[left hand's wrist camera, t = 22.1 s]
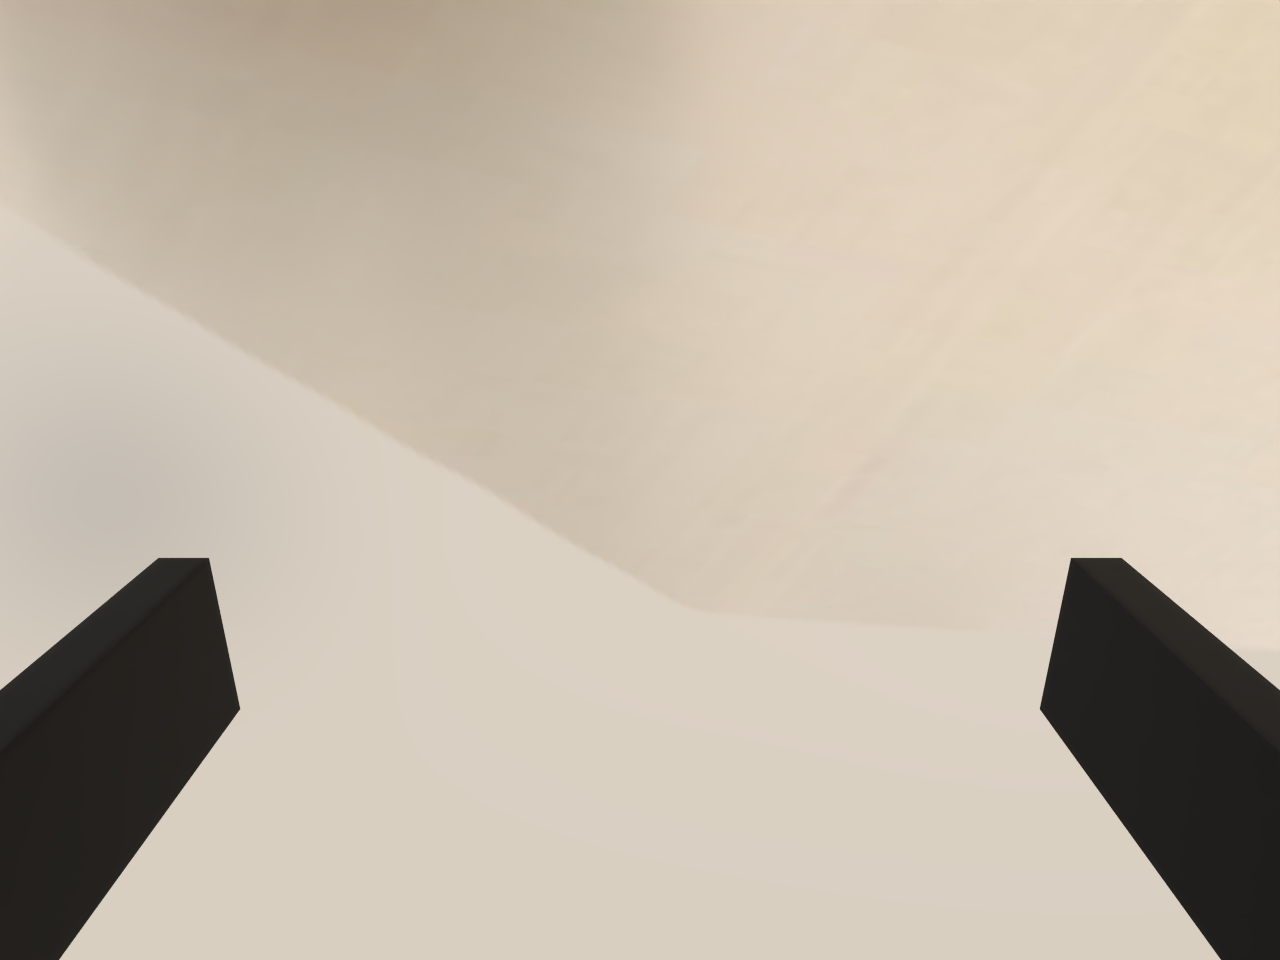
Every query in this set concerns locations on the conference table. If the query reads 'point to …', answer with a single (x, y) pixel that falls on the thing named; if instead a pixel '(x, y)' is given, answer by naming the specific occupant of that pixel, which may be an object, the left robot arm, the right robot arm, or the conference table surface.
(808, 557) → the conference table surface
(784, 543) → the conference table surface
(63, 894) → the left robot arm
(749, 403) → the conference table surface
